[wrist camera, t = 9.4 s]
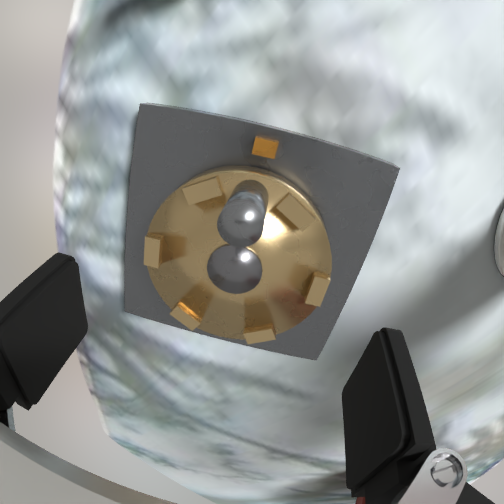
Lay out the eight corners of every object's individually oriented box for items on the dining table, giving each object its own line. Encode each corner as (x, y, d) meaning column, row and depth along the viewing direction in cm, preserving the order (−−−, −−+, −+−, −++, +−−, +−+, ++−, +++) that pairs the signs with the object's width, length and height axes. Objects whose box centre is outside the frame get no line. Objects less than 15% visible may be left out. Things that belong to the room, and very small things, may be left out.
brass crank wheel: (299, 334, 29) (300, 398, 22) (153, 299, 29) (121, 354, 22) (351, 191, 22) (377, 232, 16) (166, 149, 22) (118, 173, 16)
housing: (393, 163, 23) (404, 171, 21) (315, 348, 32) (316, 367, 30) (148, 102, 23) (134, 104, 20) (131, 301, 32) (120, 317, 29)
